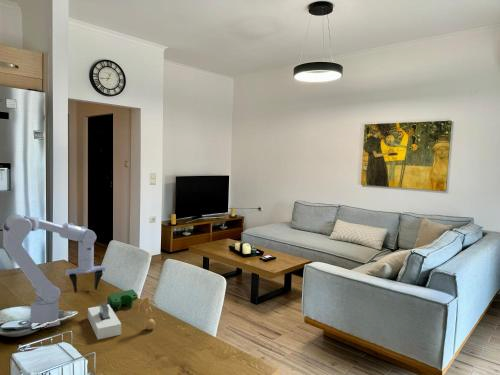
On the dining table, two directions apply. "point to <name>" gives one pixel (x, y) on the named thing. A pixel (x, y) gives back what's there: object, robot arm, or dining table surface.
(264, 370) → the dining table surface
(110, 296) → the clamp
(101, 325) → the white slotted block
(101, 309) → the bracket
